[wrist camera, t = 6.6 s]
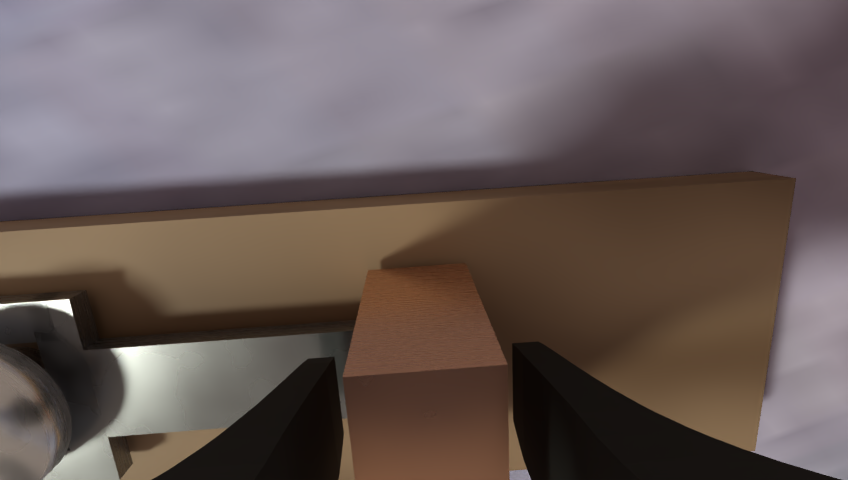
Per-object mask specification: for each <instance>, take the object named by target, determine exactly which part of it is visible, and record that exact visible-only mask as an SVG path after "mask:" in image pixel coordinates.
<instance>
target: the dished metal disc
mask: <svg viewBox="0 0 848 480" xmlns="http://www.w3.org/2000/svg"><path fill="white" fill-rule="evenodd" d="M71 437H72V417H71V413H70V408H69V406H68V403H67V401H66V398H65V396H64V395H63V393H62V391H61V389H60V388H59V386H58V385H57V384H56V382H55V381H54V379H53V378H52V377H51V376H50V375H49V374H48V373H47V372H46V371H45V367H44V364H43V361H42V358H41V355H40V351H39V350H37V349H34V348H29V347H15V348H11V347H8V346H6V345H4V344H1V343H0V480H43V479H44V478H45V477H46V476H47V475H48V474H49V473H50V472H51V471H52V470H53V469H54V468H55V466H56V465H57V464H58V463H59V462H60V461H61V460H62V458H63V457H64V455H65V454H66V452H67V449H68V447H69V444H70V441H71Z"/></svg>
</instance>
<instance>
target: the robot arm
mask: <svg viewBox="0 0 848 480" xmlns="http://www.w3.org/2000/svg"><path fill="white" fill-rule="evenodd" d="M512 374H513V422H514V426H515V429H516V433H517V437H518V441H519V445H520V449H521V452H522V456H523V460H524V462H525V465H526V467H527V470H528V473H529V475H530V478H531V480H841V479H837V478H833V477H830V476H826V475H823V474H819V473H816V472H813V471H809V470H806V469H803V468H800V467H796V466H793V465H790V464H786V463H783V462H780V461H777V460H774V459H771V458H768V457H765V456H762V455H759V454H756V453H753V452H750V451H747V450H744V449H742V448H739V447H737V446H734V445H731V444H729V443H726V442H723V441H721V440H718V439H715V438H713V437H710V436H708V435H705V434H703V433H701V432H698V431H696V430H693V429H691V428H689V427H686V426H684V425H682V424H680V423H678V422H676V421H673V420H671V419H669V418H667V417H665V416H663V415H661V414H658V413H656V412H654V411H652V410H650V409H648V408H646V407H644V406H643V405H641V404H639V403H637V402H635V401H633V400H632V399H630V398H628V397H626V396H624V395H623V394H621V393H619V392H617V391H616V390H614V389H612V388H610V387H609V386H607V385H605V384H604V383H602V382H601V381H599V380H597V379H596V378H594V377H593V376H591V375H589V374H588V373H586V372H585V371H583V370H582V369H580V368H579V367H577V366H576V365H574V364H573V363H571V362H570V361H568V360H567V359H565V358H564V357H562V356H561V355H559V354H558V353H556V352H555V351H553V350H552V349H550V348H549V347H547V346H546V345H544V344H542V343H540V342H539V341H536V342H523V343H512ZM343 438H344V429H343V421H342V413H341V405H340V397H339V389H338V381H337V372H336V364H335V357H322V358H309V359H307V360H306V361H304V362H303V363H302V364H301V365H300V366H299V367H297V368H296V369H295V370H294V371H293V372H292V373H291V374H290V375H289V376H288V377H287V378H286V379H284V380H283V381H282V382H281V383H280V384H279V385H278V386H277V387H276V388H275V389H273V390H272V391H271V392H270V393H269V394H268V395H267V396H266V397H265V398H263V399H262V400H261V401H260V402H259V403H258V404H257V405H256V406H254V407H253V408H252V409H251V410H249V411H248V412H247V413H246V414H244V415H243V416H242V417H241V418H240V419H238V420H237V421H236V422H235V423H233V424H232V425H231V426H230V427H228V428H227V429H226V430H225V431H224V432H222V433H221V434H220V435H218V436H217V437H216V438H214V439H213V440H212V441H210V442H209V443H207V444H206V445H205V446H203V447H202V448H200V449H199V450H197V451H196V452H194V453H193V454H191V455H190V456H189V457H187V458H186V459H184V460H183V461H181V462H180V463H178V464H177V465H175V466H173V467H172V468H170V469H169V470H167V471H165V472H164V473H162V474H160V475H159V476H157V477H155V478H153V479H152V480H338V479H339V474H340V466H341V458H342V448H343Z"/></svg>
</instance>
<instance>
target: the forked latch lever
mask: <svg viewBox="0 0 848 480" xmlns="http://www.w3.org/2000/svg"><path fill="white" fill-rule="evenodd" d="M33 342H37V345H38V348H39V351H40V355H41V358H42V361H43V364H44V367H45V371H46V372H47V373H48V374H49V375H50V376H51V377H52V378H53V379H54V381H55V382H56V384H57V385H58V386H59V388H60V389H61V391H62V393H63V395H64V396H65V398H66V401H67V403H68V406H69V408H70V413H71V417H72V437H71V441H70V444H69V447H68V449H67V452H66V454H65V455H64V457H63V458H62V460H61V461H60V462H59V463H58V464H57V465H56V466H55V468H54V469H53V470H52V471H51V472H50V473H49V474H48V475H47V476H46V477H45V478H44V479H43V480H120V479H121V478H122V477H123V475H124V474H125V473H126V472H127V470H128V469H129V468H130V467H131V465H132V464H133V461H132V457H131V454H130V450H129V446H128V443H127V439H126V436H129V435H142V434H154V433H167V432H180V431H193V430H206V429H219V428H228V427H230V426H231V425H232V424H233V423H235V422H236V421H237V420H238V419H240V418H241V417H242V416H243V415H244V414H246V413H247V412H248V411H249V410H251V409H252V408H253V407H254V406H256V405H257V404H258V403H259V402H260V401H261V400H262V399H263V398H265V397H266V396H267V395H268V394H269V393H270V392H271V391H272V390H273V389H275V388H276V387H277V386H278V385H279V384H280V383H281V382H282V381H283V380H284V379H286V378H287V377H288V376H289V375H290V374H291V373H292V372H293V371H294V370H295V369H296V368H297V367H299V366H300V365H301V364H302V363H303V362H304V361H306V360H307V359H309V358H322V357H335V364H336V372H337V381H338V389H339V397H340V405H341V413H342V419H347V418H348V426H349V435H350V443H351V451H352V459H353V468H354V476H355V480H509V417H508V364H507V362H506V359H505V357H504V354H503V352H502V350H501V347H500V345H499V342H498V340H497V338H496V335H495V333H494V330H493V328H492V325H491V323H490V321H489V318H488V316H487V313H486V311H485V309H484V306H483V304H482V301H481V299H480V296H479V294H478V292H477V289H476V287H475V284H474V282H473V279H472V277H471V275H470V272H469V270H468V267H467V265H466V263H460V264H446V265H432V266H418V267H404V268H389V269H375V270H368V273H367V277H366V281H365V285H364V289H363V294H362V298H361V302H360V306H359V310H358V315H357V319H356V320H350V321H336V322H322V323H309V324H295V325H281V326H268V327H254V328H240V329H226V330H213V331H199V332H185V333H172V334H158V335H144V336H131V337H117V338H103V339H99V335H98V331H97V328H96V324H95V320H94V317H93V313H92V309H91V305H90V302H89V298H88V294H87V291H86V290H78V291H64V292H49V293H35V294H21V295H7V296H0V343H1V344H4V345H6V344H20V343H33Z"/></svg>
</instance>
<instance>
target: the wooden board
mask: <svg viewBox="0 0 848 480" xmlns="http://www.w3.org/2000/svg"><path fill="white" fill-rule="evenodd" d="M795 182H796V178H791V177H785V176H779V175H772V174H766V173H760V172H754V171H748V172H734V173H719V174H704V175H689V176H674V177H659V178H644V179H629V180H614V181H599V182H584V183H569V184H554V185H539V186H525V187H510V188H495V189H480V190H465V191H450V192H435V193H420V194H405V195H390V196H375V197H360V198H345V199H330V200H316V201H301V202H286V203H271V204H256V205H241V206H226V207H211V208H196V209H181V210H166V211H151V212H136V213H121V214H107V215H92V216H77V217H62V218H47V219H32V220H17V221H2V222H0V296H7V295H21V294H35V293H49V292H64V291H78V290H86V291H87V294H88V298H89V302H90V305H91V309H92V313H93V317H94V320H95V324H96V328H97V331H98V335H99V339H103V338H117V337H131V336H144V335H158V334H172V333H185V332H199V331H213V330H226V329H240V328H254V327H268V326H281V325H295V324H309V323H322V322H336V321H350V320H356V319H357V315H358V310H359V306H360V302H361V298H362V294H363V289H364V285H365V281H366V277H367V273H368V270H375V269H389V268H404V267H418V266H432V265H446V264H460V263H466V265H467V267H468V270H469V272H470V275H471V277H472V279H473V282H474V284H475V287H476V289H477V292H478V294H479V296H480V299H481V301H482V304H483V306H484V309H485V311H486V313H487V316H488V318H489V321H490V323H491V325H492V328H493V330H494V333H495V335H496V338H497V340H498V342H499V345H500V347H501V350H502V352H503V354H504V357H505V359H506V362H507V364H508V417H509V471H511V470H523V469H527V467H526V465H525V462H524V460H523V456H522V452H521V449H520V445H519V441H518V437H517V433H516V429H515V426H514V422H513V374H512V343H523V342H536V341H539V342H540V343H542V344H544V345H546V346H547V347H549V348H550V349H552V350H553V351H555V352H556V353H558V354H559V355H561V356H562V357H564V358H565V359H567V360H568V361H570V362H571V363H573V364H574V365H576V366H577V367H579V368H580V369H582V370H583V371H585V372H586V373H588V374H589V375H591V376H593V377H594V378H596V379H597V380H599V381H601V382H602V383H604V384H605V385H607V386H609V387H610V388H612V389H614V390H616V391H617V392H619V393H621V394H623V395H624V396H626V397H628V398H630V399H632V400H633V401H635V402H637V403H639V404H641V405H643V406H644V407H646V408H648V409H650V410H652V411H654V412H656V413H658V414H661V415H663V416H665V417H667V418H669V419H671V420H673V421H676V422H678V423H680V424H682V425H684V426H686V427H689V428H691V429H693V430H696V431H698V432H701V433H703V434H705V435H708V436H710V437H713V438H715V439H718V440H721V441H723V442H726V443H729V444H731V445H734V446H737V447H739V448H742V449H744V450H747V451H755V447H756V441H757V434H758V427H759V421H760V414H761V408H762V401H763V394H764V388H765V381H766V374H767V368H768V361H769V354H770V348H771V341H772V334H773V328H774V321H775V315H776V308H777V301H778V295H779V288H780V281H781V275H782V268H783V261H784V255H785V248H786V241H787V235H788V228H789V222H790V215H791V208H792V202H793V195H794V188H795ZM6 346H8V347H11V348H15V347H29V348H34V349H37V350H39V348H38V345H37V342H33V343H20V344H6ZM342 421H343V429H344V438H343V448H342V458H341V466H340V474H339V479H338V480H355V476H354V468H353V459H352V451H351V443H350V435H349V426H348V418H347V419H342ZM226 429H227V428H219V429H206V430H193V431H180V432H167V433H154V434H142V435H129V436H126V439H127V443H128V446H129V450H130V454H131V457H132V461H133V464H132V465H131V467H130V468H129V469H128V470H127V472H126V473H125V474H124V475H123V477H122V478H121V479H120V480H152V479H153V478H155V477H157V476H159V475H160V474H162V473H164V472H165V471H167V470H169V469H170V468H172V467H173V466H175V465H177V464H178V463H180V462H181V461H183V460H184V459H186V458H187V457H189V456H190V455H191V454H193V453H194V452H196V451H197V450H199V449H200V448H202V447H203V446H205V445H206V444H207V443H209V442H210V441H212V440H213V439H214V438H216V437H217V436H218V435H220V434H221V433H222V432H224V431H225V430H226Z"/></svg>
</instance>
